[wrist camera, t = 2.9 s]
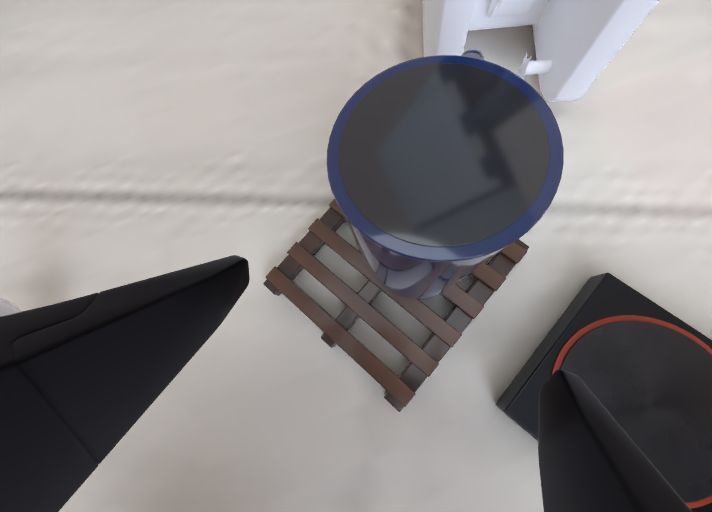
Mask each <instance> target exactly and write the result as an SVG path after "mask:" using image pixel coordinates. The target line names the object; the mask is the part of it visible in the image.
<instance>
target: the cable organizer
mask: <svg viewBox="0 0 712 512" xmlns="http://www.w3.org/2000/svg"><path fill="white" fill-rule="evenodd" d="M422 1H423V55H424V57H427V56H437V55H458V56H461V55H462V54H463V50H464V46H465V42H466V38H467V34H468V31H470V30H481V29H492V28H503V27H514V26H525V25H532V26H533V34H534V42H535V50H536V59H537V60H535V61H530V59H531V57H532V56H531V57H530V58H528V59H527V51H526V54H525V57H524V60H523V63H522V65H521V66H520V67H519V68H518V73H519V77H521V78H522V79H523V80H525V75H528V74H538V75H539V83H540V90H541V93H542V96H543V98H544V99H545V100H546V101H548V102H559V101H575V100H578V99H579V98H581V97H582V96H583V95H584V94H585V92H586V91H587V90H588V89H589V87H590V86H591V85H592V84H593V82H594V81H595V80H596V79H597V77H598V76H599V75H600V74H601V73H602V71H603V70H604V69H605V68H606V66H607V65H608V64H609V63H610V61H611V60H612V59H613V58H614V56H615V55H616V54H617V53H618V51H619V50H620V49H621V48H622V47H623V45H624V44H625V43H626V42H627V40H628V39H629V38H630V37H631V35H632V34H633V33H634V32H635V30H636V29H637V28H638V27H639V26H640V24H641V23H642V22H643V21H644V19H645V18H646V17H647V16H648V14H649V13H650V12H651V11H652V9H653V8H654V7H655V6H656V4H657V3H658V2H659V1H660V0H422ZM480 52H481V51H480ZM483 58H484V56H483Z"/></svg>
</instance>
